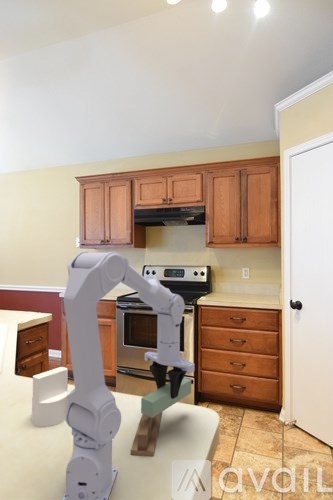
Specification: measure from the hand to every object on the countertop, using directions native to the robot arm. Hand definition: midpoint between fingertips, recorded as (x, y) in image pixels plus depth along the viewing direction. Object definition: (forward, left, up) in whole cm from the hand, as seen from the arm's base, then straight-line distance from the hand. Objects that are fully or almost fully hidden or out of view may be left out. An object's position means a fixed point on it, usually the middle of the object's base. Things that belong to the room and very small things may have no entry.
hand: (168, 394), depth 77 cm
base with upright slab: (+2, +32, -9) cm, 33 cm away
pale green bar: (0, 0, -2) cm, 2 cm away
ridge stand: (-1, +5, -8) cm, 10 cm away
